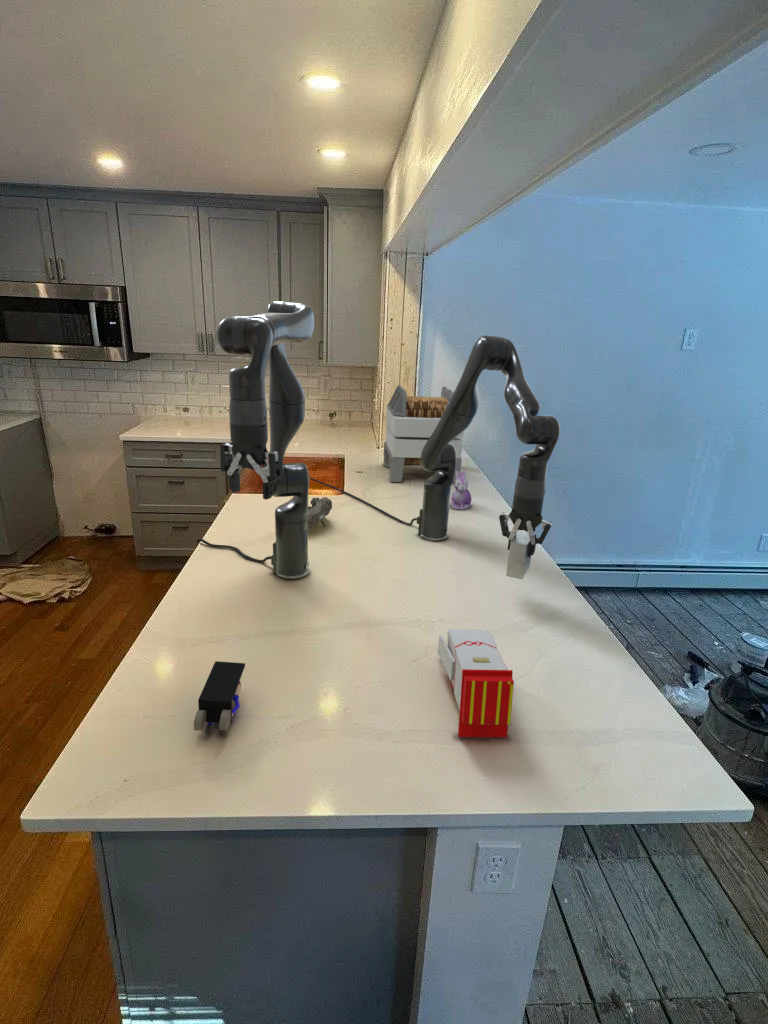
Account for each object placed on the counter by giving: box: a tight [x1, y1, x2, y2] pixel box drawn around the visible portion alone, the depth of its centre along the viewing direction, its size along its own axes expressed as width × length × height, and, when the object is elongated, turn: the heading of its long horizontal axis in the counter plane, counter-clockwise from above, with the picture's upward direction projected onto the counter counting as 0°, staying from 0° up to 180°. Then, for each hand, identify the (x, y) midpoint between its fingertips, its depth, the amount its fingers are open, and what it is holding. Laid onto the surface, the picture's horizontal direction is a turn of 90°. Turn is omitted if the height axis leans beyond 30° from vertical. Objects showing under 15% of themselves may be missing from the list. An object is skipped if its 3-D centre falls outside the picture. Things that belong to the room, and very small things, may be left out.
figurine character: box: [193, 660, 246, 736], centre depth 107 cm, size 7×8×15 cm
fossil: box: [308, 496, 333, 533], centre depth 202 cm, size 22×10×15 cm
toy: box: [437, 628, 515, 738], centre depth 117 cm, size 12×13×30 cm
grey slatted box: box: [383, 384, 465, 484], centre depth 268 cm, size 34×33×41 cm
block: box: [505, 530, 532, 580], centre depth 151 cm, size 4×9×10 cm, turn 154°
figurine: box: [450, 469, 472, 511], centre depth 228 cm, size 9×10×15 cm
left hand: (251, 495), depth 122 cm, fingers open, 8 cm apart
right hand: (520, 553), depth 151 cm, fingers closed on block, 4 cm apart
